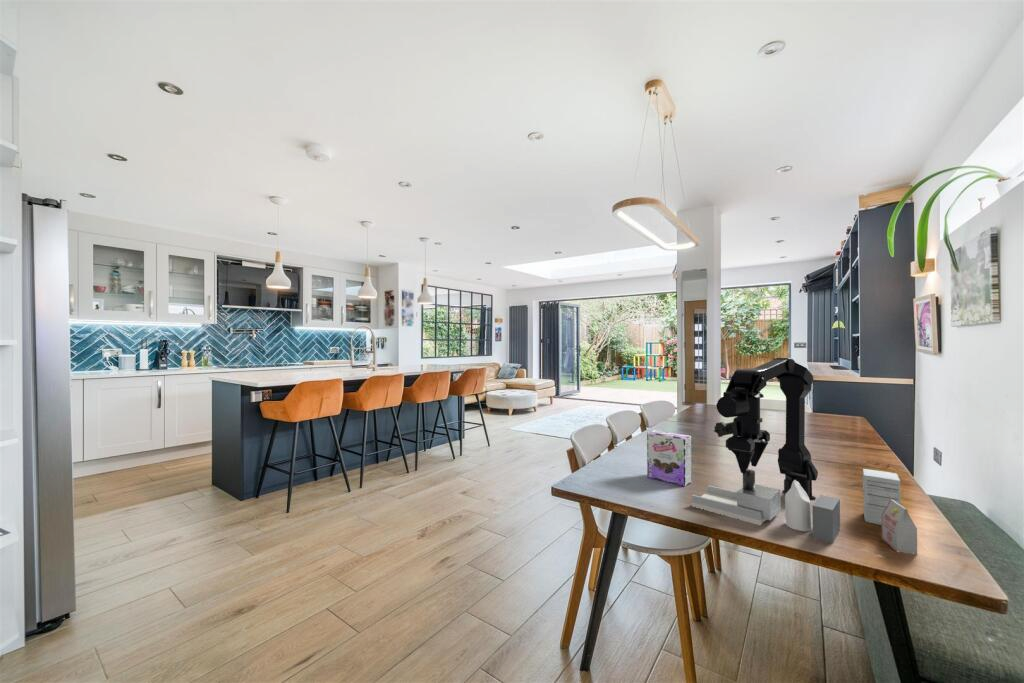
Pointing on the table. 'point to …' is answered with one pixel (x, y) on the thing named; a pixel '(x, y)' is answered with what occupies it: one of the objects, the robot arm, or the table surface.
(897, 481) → the supplement box
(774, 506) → the block
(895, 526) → the gable top carton
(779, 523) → the table surface
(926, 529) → the table surface
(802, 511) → the white pouch
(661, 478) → the candy box
